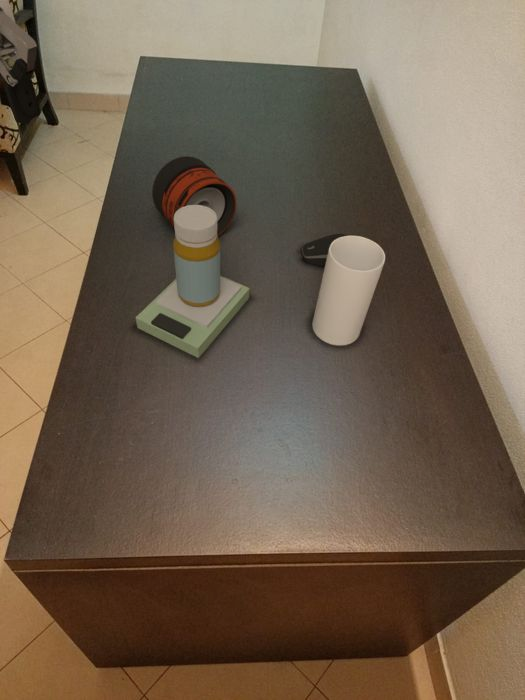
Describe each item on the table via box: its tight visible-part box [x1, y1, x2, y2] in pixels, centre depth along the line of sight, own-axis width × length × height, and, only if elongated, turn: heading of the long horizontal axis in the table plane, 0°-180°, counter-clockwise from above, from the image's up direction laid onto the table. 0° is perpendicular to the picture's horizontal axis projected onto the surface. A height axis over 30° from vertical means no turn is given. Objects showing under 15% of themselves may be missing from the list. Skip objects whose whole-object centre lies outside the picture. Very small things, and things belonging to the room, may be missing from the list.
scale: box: [135, 275, 250, 359], centre depth 79 cm, size 16×12×3 cm
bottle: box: [172, 205, 221, 306], centre depth 72 cm, size 7×7×15 cm
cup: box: [311, 235, 386, 346], centre depth 74 cm, size 8×8×16 cm
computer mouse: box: [301, 233, 350, 267], centre depth 90 cm, size 7×12×4 cm, turn 91°
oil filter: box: [151, 155, 237, 237], centre depth 90 cm, size 13×12×13 cm
